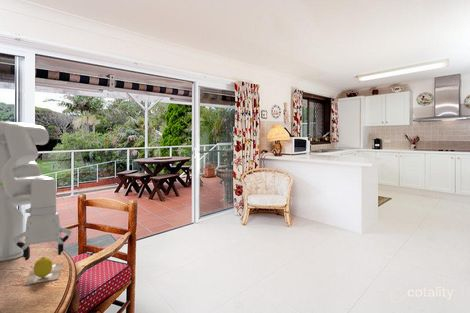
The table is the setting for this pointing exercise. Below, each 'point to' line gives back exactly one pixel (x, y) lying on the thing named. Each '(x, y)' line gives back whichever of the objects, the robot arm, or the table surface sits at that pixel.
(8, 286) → the table surface
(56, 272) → the label board
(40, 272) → the lemon
